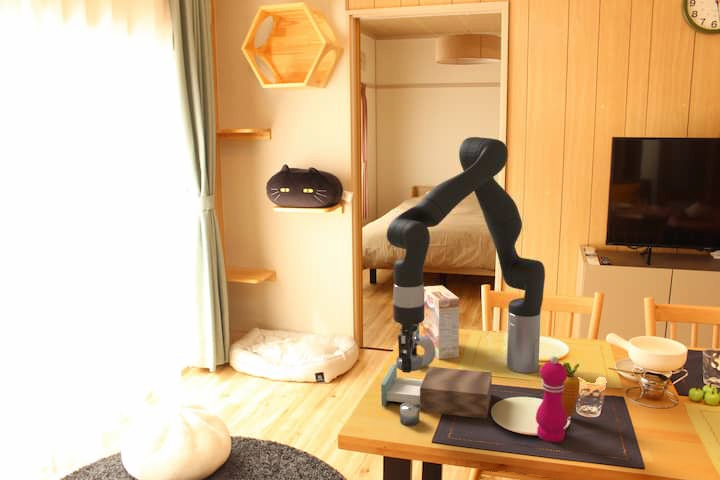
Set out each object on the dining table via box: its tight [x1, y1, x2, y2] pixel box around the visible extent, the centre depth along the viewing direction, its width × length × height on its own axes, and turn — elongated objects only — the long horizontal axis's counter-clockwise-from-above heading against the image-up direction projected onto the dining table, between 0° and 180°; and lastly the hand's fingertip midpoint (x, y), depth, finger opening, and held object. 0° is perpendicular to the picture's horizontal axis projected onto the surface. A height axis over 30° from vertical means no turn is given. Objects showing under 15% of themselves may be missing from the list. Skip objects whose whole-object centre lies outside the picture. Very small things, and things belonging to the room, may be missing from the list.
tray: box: [380, 363, 424, 407], centre depth 174 cm, size 17×14×6 cm
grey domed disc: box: [396, 354, 423, 372], centre depth 160 cm, size 6×6×2 cm
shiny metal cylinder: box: [399, 402, 420, 427], centre depth 162 cm, size 5×5×4 cm
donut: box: [404, 333, 436, 368], centre depth 196 cm, size 10×4×10 cm, turn 61°
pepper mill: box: [535, 356, 569, 443], centre depth 153 cm, size 7×7×20 cm
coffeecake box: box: [422, 284, 460, 360], centre depth 207 cm, size 15×7×20 cm, turn 14°
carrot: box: [561, 361, 581, 418], centre depth 161 cm, size 5×5×15 cm
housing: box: [419, 366, 493, 419], centre depth 172 cm, size 17×14×6 cm
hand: (409, 366), depth 160 cm, fingers closed on grey domed disc, 6 cm apart
